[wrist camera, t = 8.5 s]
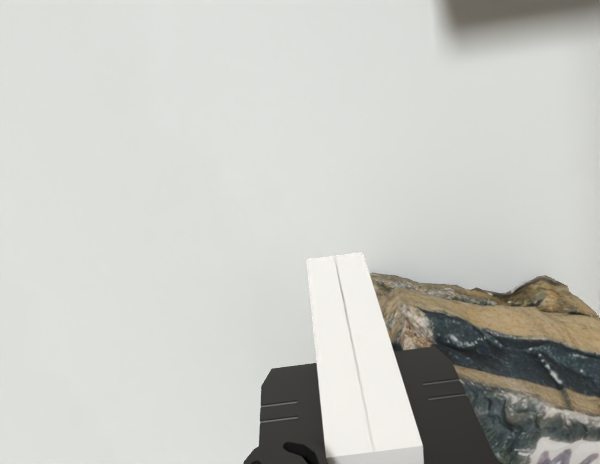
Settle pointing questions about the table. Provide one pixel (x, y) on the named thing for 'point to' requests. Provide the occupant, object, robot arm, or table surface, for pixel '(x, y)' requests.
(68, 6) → the table surface
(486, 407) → the rock
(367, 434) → the robot arm
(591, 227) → the table surface
